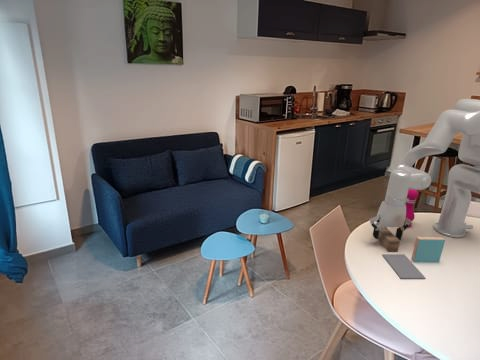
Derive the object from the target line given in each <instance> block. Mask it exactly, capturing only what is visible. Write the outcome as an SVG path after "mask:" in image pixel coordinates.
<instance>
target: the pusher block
mask: <svg viewBox="0 0 480 360" xmlns="http://www.w3.org/2000/svg"><path fill="white" fill-rule="evenodd" d="M376 240H377V241H378V242H379V243H380V244H381V245H382V246H383V248H384V249H385V251H387V253H398V250H399V246H400V242H401V240H398V239H397V238H396V235H395V234H393V232H391V231H390V230H389V228H388V227H381V228H380V229H379V236H378V239H376Z"/></svg>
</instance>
